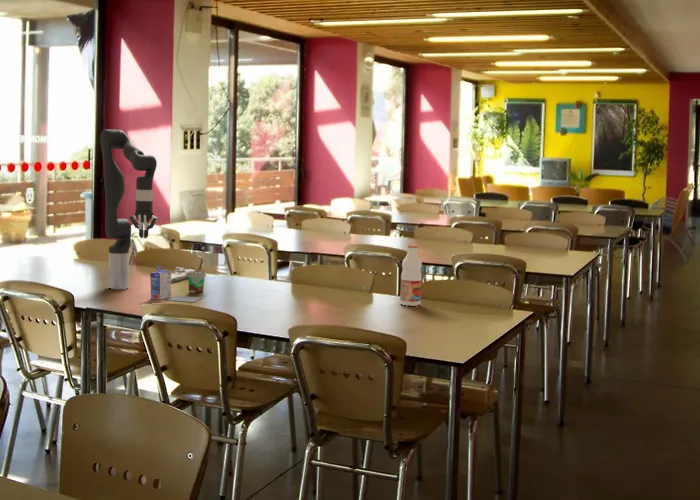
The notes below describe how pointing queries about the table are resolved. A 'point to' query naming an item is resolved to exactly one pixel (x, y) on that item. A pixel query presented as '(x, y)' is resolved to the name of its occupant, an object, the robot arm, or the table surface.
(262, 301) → the table surface
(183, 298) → the mat
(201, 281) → the food container
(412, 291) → the fruit juice
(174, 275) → the long grey stone
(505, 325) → the table surface
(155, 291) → the ink cartridge box
